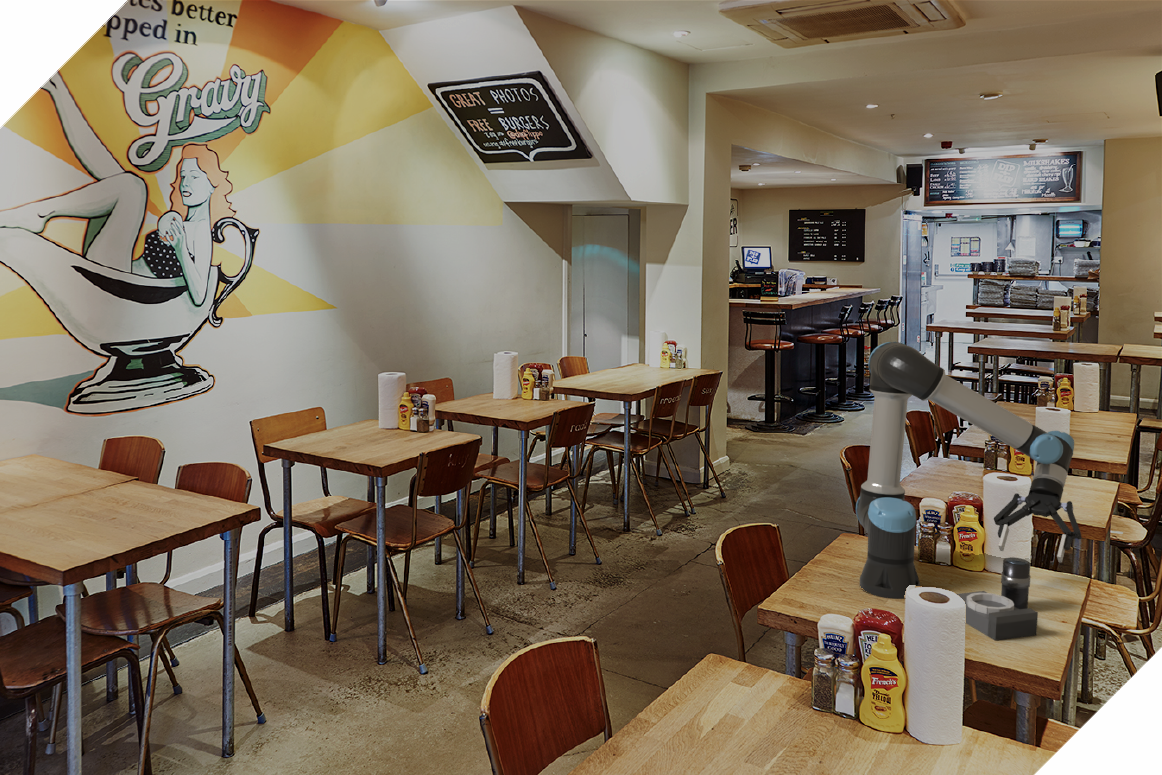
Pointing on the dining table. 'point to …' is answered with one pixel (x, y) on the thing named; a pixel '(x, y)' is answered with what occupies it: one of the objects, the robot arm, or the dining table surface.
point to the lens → (1016, 581)
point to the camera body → (998, 616)
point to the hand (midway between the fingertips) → (1029, 554)
